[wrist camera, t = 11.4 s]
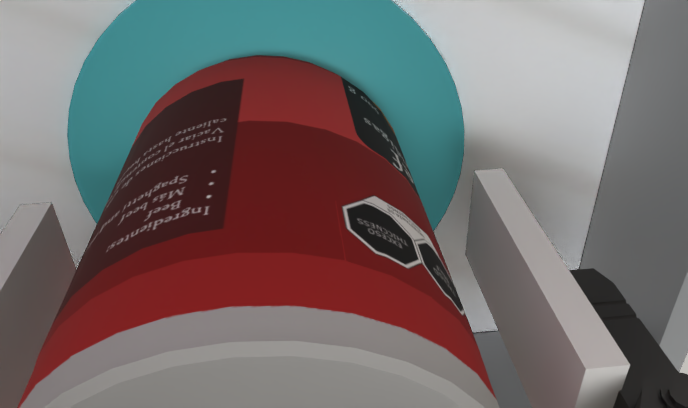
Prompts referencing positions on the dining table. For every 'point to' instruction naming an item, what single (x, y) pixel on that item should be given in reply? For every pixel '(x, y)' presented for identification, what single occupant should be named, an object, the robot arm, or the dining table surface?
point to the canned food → (262, 261)
